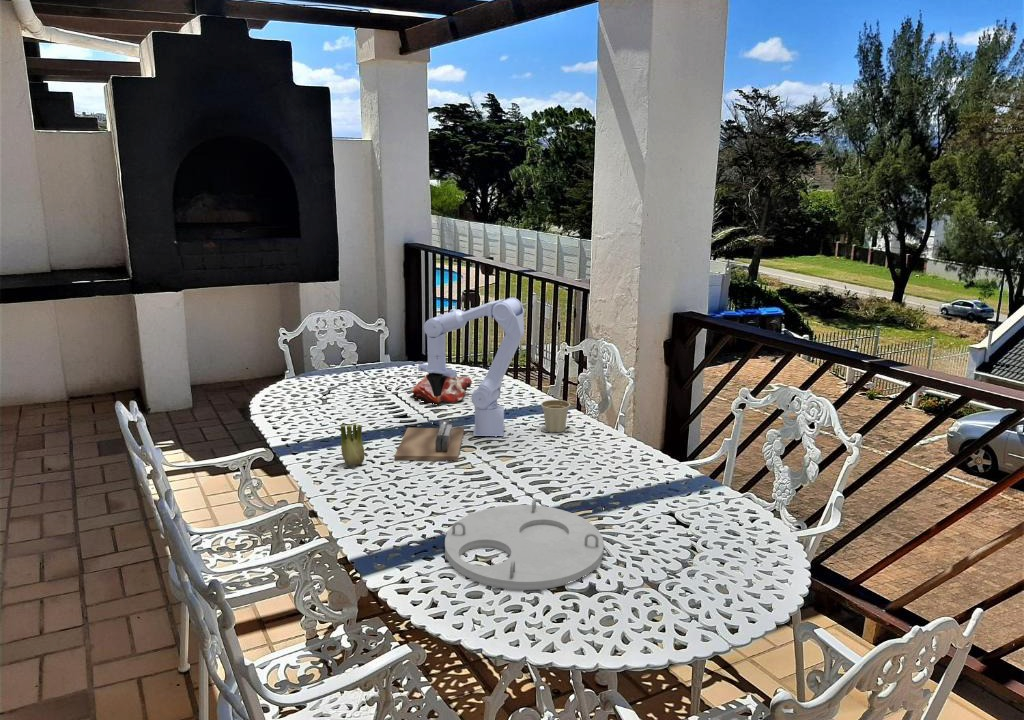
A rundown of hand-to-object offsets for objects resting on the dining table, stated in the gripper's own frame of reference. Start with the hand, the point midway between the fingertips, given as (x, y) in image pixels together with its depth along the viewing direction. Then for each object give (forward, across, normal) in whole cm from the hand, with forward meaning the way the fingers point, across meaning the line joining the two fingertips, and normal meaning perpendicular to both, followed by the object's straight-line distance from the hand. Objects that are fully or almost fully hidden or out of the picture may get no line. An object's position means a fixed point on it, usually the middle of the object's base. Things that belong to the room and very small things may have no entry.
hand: (437, 395), depth 235 cm
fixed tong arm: (+9, +15, -13) cm, 22 cm away
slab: (+11, +68, -49) cm, 85 cm away
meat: (+11, -20, +25) cm, 34 cm away
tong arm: (+9, +13, -13) cm, 20 cm away
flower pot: (+11, +32, +20) cm, 39 cm away
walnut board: (+10, +10, -15) cm, 21 cm away
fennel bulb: (+11, +2, -38) cm, 40 cm away
